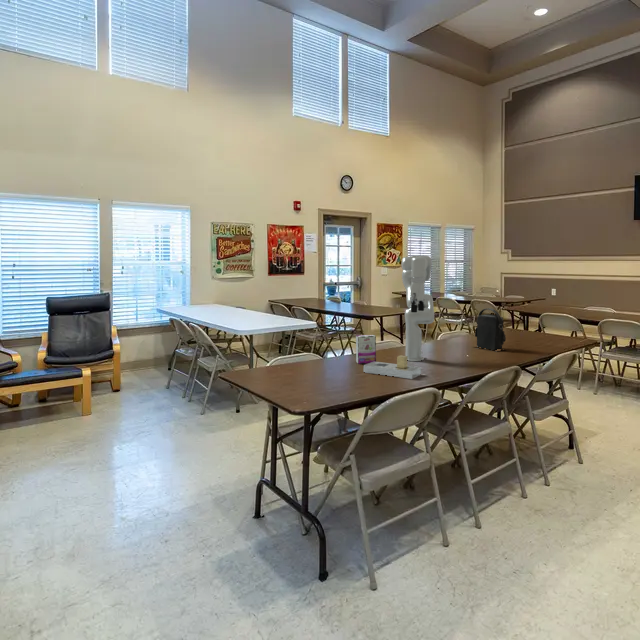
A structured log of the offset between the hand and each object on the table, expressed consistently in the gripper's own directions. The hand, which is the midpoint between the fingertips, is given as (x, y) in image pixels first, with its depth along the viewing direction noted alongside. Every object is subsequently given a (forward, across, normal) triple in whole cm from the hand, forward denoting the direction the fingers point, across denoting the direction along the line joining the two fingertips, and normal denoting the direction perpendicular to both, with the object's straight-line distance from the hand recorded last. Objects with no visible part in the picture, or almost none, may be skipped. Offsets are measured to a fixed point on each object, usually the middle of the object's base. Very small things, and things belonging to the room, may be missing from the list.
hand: (417, 311), depth 259 cm
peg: (+32, +17, -1) cm, 37 cm away
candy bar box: (+32, 0, -32) cm, 46 cm away
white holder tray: (+32, +17, -7) cm, 37 cm away
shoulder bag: (+33, -85, +17) cm, 93 cm away
